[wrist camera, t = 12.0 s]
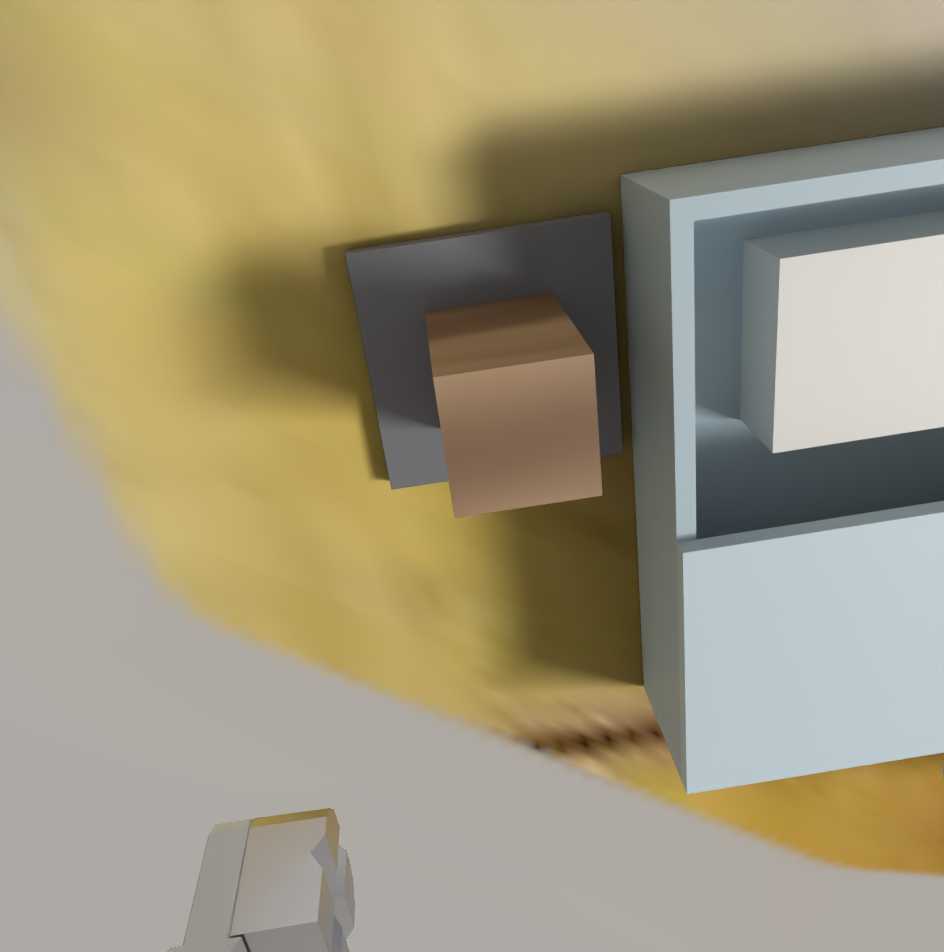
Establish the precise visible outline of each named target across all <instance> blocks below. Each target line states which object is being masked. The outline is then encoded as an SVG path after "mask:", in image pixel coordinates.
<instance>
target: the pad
mask: <svg viewBox="0 0 944 952" xmlns="http://www.w3.org/2000/svg"><path fill="white" fill-rule="evenodd" d="M345 255H346V260H347V265H348V270H349V276H350V281H351V286H352V291H353V296H354V301H355V306H356V311H357V316H358V321H359V326H360V332H361V337H362V342H363V347H364V352H365V357H366V362H367V367H368V372H369V377H370V382H371V388H372V393H373V398H374V403H375V408H376V413H377V418H378V423H379V428H380V433H381V438H382V444H383V449H384V454H385V459H386V464H387V469H388V474H389V479H390V484H391V489H392V490H393V489H399V488H405V487H412V486H418V485H425V484H431V483H438V482H444V481H449V478H448V472H447V465H446V459H445V452H444V446H443V439H442V433H441V427H440V420H439V414H438V407H437V401H436V394H435V388H434V381H433V374H432V367H431V359H430V351H429V343H428V335H427V328H426V320H425V312H424V311H431V310H437V309H444V308H451V307H458V306H465V305H471V304H478V303H485V302H492V301H499V300H506V299H512V298H519V297H526V296H533V295H540V294H547V293H553V295H554V296H555V298H556V299H557V300H558V302H559V303H560V305H561V306H562V308H563V309H564V311H565V312H566V314H567V315H568V317H569V318H570V320H571V321H572V322H573V324H574V325H575V327H576V328H577V330H578V331H579V333H580V334H581V336H582V337H583V339H584V340H585V342H586V343H587V344H588V346H589V347H590V349H591V350H592V352H593V353H594V365H595V381H596V398H597V414H598V430H599V447H600V457H606V456H612V455H619V454H623V446H622V427H621V408H620V389H619V370H618V350H617V331H616V312H615V293H614V274H613V255H612V235H611V216H610V214H609V213H608V212H606V211H605V212H598V213H591V214H584V215H578V216H571V217H564V218H558V219H551V220H544V221H538V222H531V223H524V224H518V225H511V226H504V227H498V228H491V229H484V230H477V231H471V232H464V233H457V234H451V235H444V236H437V237H431V238H424V239H417V240H411V241H404V242H397V243H390V244H384V245H377V246H370V247H364V248H357V249H350V250H346V253H345Z"/></svg>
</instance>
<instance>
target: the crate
mask: <svg viewBox="0 0 944 952" xmlns="http://www.w3.org/2000/svg"><path fill="white" fill-rule="evenodd" d="M620 177H621V199H622V221H623V242H624V264H625V286H626V308H627V329H628V351H629V373H630V395H631V417H632V438H633V460H634V482H635V504H636V526H637V547H638V569H639V591H640V613H641V634H642V656H643V678H644V688H645V691H646V693H647V696H648V698H649V701H650V703H651V706H652V708H653V711H654V713H655V716H656V718H657V721H658V723H659V726H660V728H661V731H662V733H663V736H664V738H665V741H666V743H667V746H668V748H669V751H670V753H671V756H672V758H673V761H674V763H675V766H676V768H677V771H678V773H679V776H680V778H681V781H682V783H683V785H684V788H685V790H686V793H687V794H691V793H697V792H703V791H710V790H716V789H722V788H728V787H734V786H740V785H747V784H753V783H759V782H765V781H771V780H777V779H783V778H790V777H796V776H802V775H808V774H814V773H820V772H826V771H833V770H839V769H845V768H851V767H857V766H863V765H869V764H876V763H882V762H888V761H894V760H900V759H906V758H913V757H919V756H925V755H931V754H937V753H943V752H944V127H938V128H931V129H924V130H917V131H911V132H904V133H897V134H891V135H884V136H877V137H870V138H864V139H857V140H850V141H844V142H837V143H830V144H823V145H817V146H810V147H803V148H796V149H790V150H783V151H776V152H770V153H763V154H756V155H749V156H743V157H736V158H729V159H722V160H716V161H709V162H702V163H696V164H689V165H682V166H675V167H669V168H662V169H655V170H649V171H642V172H635V173H628V174H622V175H620Z"/></svg>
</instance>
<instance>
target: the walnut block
mask: <svg viewBox="0 0 944 952" xmlns="http://www.w3.org/2000/svg"><path fill="white" fill-rule="evenodd" d="M424 312H425V320H426V328H427V335H428V343H429V351H430V359H431V367H432V374H433V381H434V388H435V394H436V401H437V407H438V414H439V420H440V427H441V433H442V439H443V446H444V452H445V459H446V465H447V472H448V478H449V485H450V491H451V498H452V504H453V510H454V517H455V518H458V517H464V516H471V515H478V514H484V513H491V512H497V511H504V510H511V509H517V508H524V507H530V506H537V505H544V504H550V503H557V502H563V501H570V500H576V499H583V498H590V497H596V496H602V480H601V463H600V447H599V430H598V414H597V398H596V381H595V365H594V353H593V352H592V350H591V349H590V347H589V346H588V344H587V343H586V342H585V340H584V339H583V337H582V336H581V334H580V333H579V331H578V330H577V328H576V327H575V325H574V324H573V322H572V321H571V320H570V318H569V317H568V315H567V314H566V312H565V311H564V309H563V308H562V306H561V305H560V303H559V302H558V300H557V299H556V298H555V296H554V295H553V293H547V294H540V295H533V296H526V297H519V298H512V299H506V300H499V301H492V302H485V303H478V304H471V305H465V306H458V307H451V308H444V309H437V310H431V311H424Z"/></svg>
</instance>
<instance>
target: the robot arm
mask: <svg viewBox="0 0 944 952" xmlns="http://www.w3.org/2000/svg"><path fill="white" fill-rule="evenodd" d="M942 773H943V777H944V765H943V772H942ZM338 844H339V824H338V821H337V818H336V815H335V812H334V809H331V808H328V809H320V810H313V811H305V812H299V813H290V814H283V815H276V816H269V817H260V818H254V819H249V820H243V821H235V822H228V823H221V824H215V826H214V827H213V829H212V831H211V832H210V834H209V836H208V839H207V844H206V848H205V852H204V856H203V860H202V865H201V869H200V873H199V878H198V882H197V886H196V890H195V895H194V899H193V904H192V907H191V911H190V916H189V920H188V924H187V929H186V933H185V937H184V941H183V945H182V946H179V947H173V948H170V949H169V950H168V952H349V949H348V945H347V942H346V939H347V937H348V936H349V934H350V933H351V931H352V930H353V928H354V914H355V901H354V886H353V877H352V871H351V865H350V861H349V857H348V854H347V850H345V849H344V848H342V847H341V846H339V845H338Z"/></svg>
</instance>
